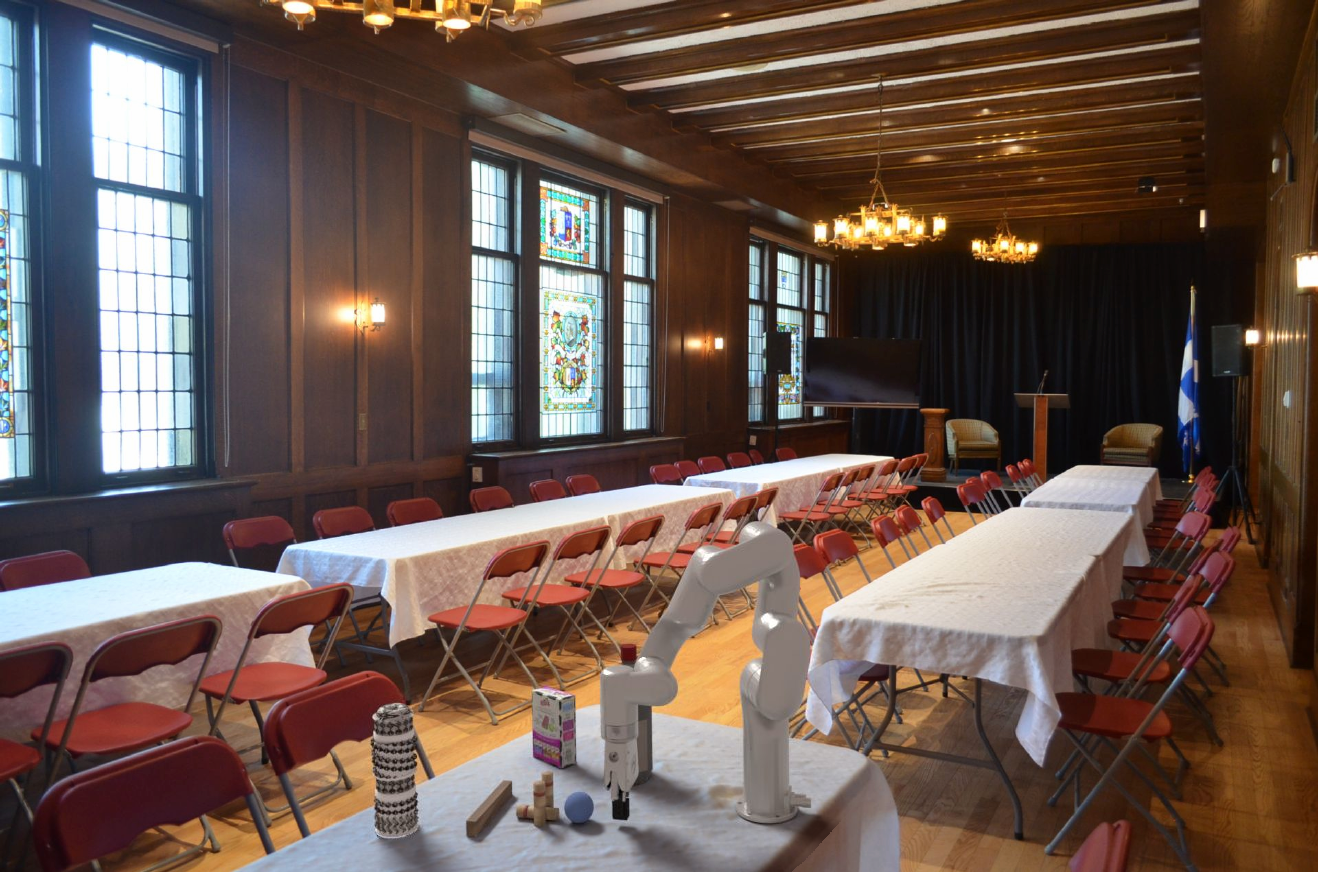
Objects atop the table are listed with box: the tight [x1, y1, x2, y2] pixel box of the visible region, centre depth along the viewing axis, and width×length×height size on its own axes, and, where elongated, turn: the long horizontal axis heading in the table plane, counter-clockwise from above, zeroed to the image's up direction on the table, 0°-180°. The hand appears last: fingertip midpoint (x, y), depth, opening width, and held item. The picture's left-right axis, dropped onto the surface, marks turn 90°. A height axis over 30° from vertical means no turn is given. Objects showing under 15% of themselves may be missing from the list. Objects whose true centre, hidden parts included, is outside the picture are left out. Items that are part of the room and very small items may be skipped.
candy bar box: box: [531, 685, 577, 769], centre depth 231 cm, size 11×5×16 cm, turn 45°
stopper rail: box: [465, 779, 513, 837], centre depth 203 cm, size 2×20×3 cm, turn 168°
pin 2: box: [541, 770, 555, 808], centre depth 202 cm, size 2×2×8 cm
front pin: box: [515, 804, 560, 821], centre depth 200 cm, size 2×2×8 cm
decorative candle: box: [370, 702, 420, 837], centre depth 196 cm, size 9×9×25 cm
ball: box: [563, 791, 595, 824], centre depth 198 cm, size 6×6×6 cm
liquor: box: [620, 643, 654, 786], centre depth 220 cm, size 9×9×30 cm
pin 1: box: [532, 780, 547, 828], centre depth 198 cm, size 2×2×8 cm
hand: (620, 817), depth 197 cm, fingers closed
